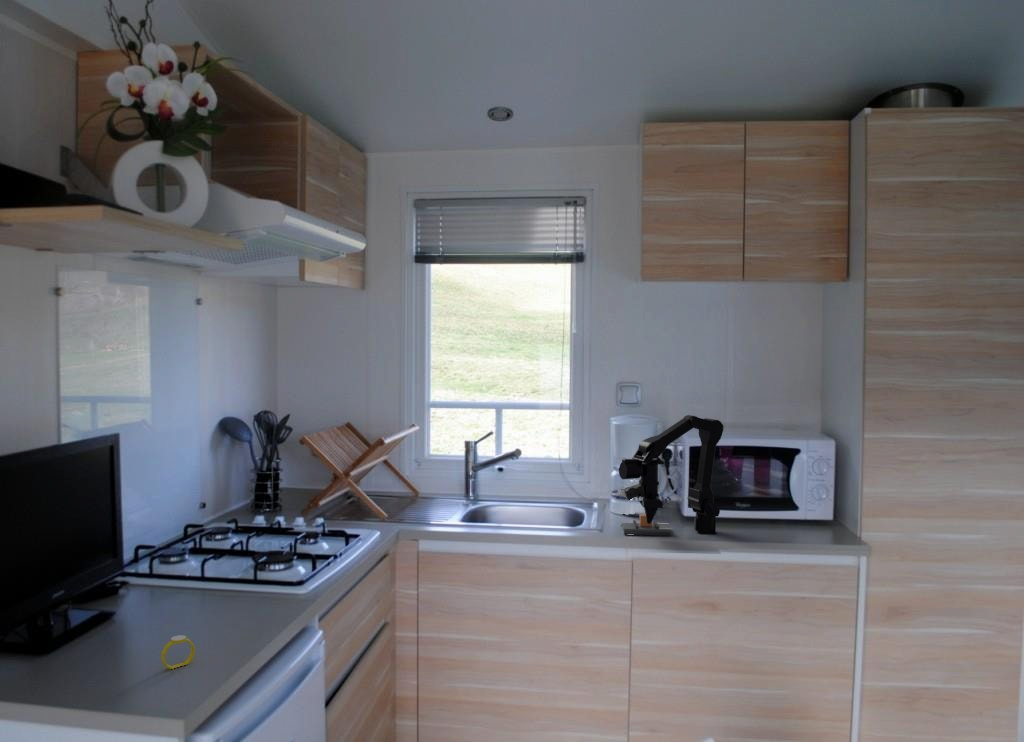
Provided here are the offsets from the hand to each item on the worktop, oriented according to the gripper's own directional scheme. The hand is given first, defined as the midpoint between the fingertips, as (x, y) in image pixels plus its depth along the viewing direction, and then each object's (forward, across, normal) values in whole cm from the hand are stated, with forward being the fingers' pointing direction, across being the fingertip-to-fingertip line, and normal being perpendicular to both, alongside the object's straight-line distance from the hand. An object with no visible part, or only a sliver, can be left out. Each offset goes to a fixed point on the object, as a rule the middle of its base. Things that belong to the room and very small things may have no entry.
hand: (649, 523), depth 235 cm
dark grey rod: (+5, -2, 0) cm, 5 cm away
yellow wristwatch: (+5, +102, -108) cm, 149 cm away
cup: (+5, -34, -3) cm, 34 cm away
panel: (+5, -7, 0) cm, 8 cm away
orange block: (+2, -7, 0) cm, 7 cm away
